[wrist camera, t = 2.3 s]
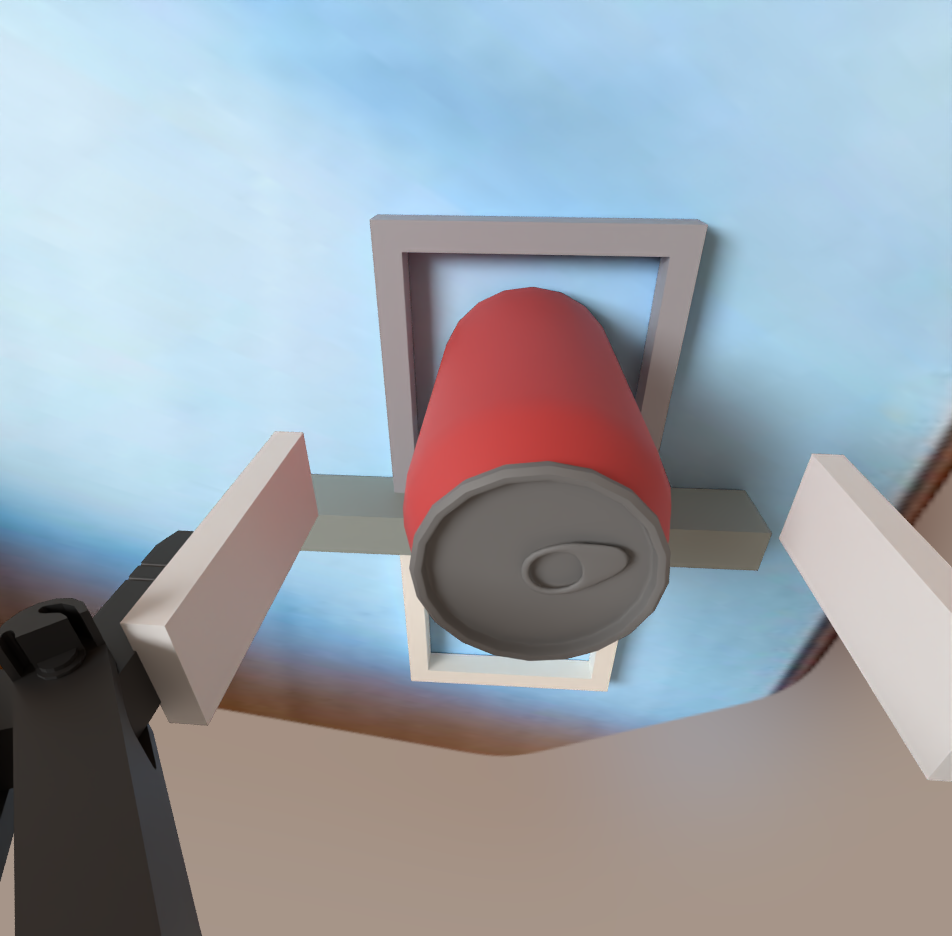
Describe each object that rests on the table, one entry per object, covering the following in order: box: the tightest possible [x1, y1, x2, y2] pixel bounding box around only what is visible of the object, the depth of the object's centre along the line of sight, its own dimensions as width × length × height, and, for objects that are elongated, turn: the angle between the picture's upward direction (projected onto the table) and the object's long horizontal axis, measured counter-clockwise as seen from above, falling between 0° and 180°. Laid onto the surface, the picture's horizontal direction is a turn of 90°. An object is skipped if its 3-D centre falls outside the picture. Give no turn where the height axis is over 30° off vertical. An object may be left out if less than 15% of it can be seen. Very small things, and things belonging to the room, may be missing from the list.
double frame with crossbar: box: [300, 215, 772, 691], centre depth 24 cm, size 20×24×3 cm
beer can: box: [403, 287, 671, 661], centre depth 17 cm, size 7×7×12 cm
